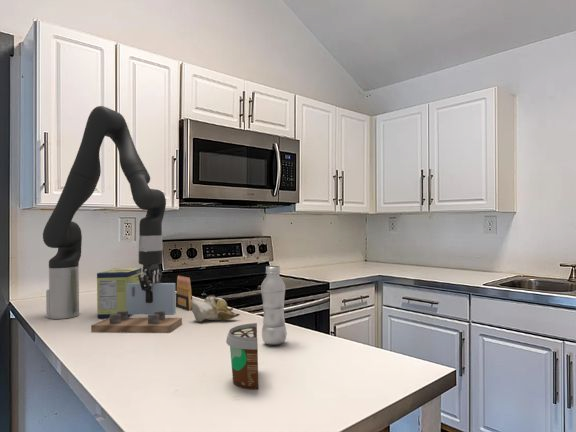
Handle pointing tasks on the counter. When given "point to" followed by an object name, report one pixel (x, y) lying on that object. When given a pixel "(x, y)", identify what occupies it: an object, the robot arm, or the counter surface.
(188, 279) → the ammunition clip
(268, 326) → the plastic bottle
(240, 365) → the food container
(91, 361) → the counter surface
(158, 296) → the door
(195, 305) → the ceramic sculpture
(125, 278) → the protein box
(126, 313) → the cabinet base
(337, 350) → the counter surface
